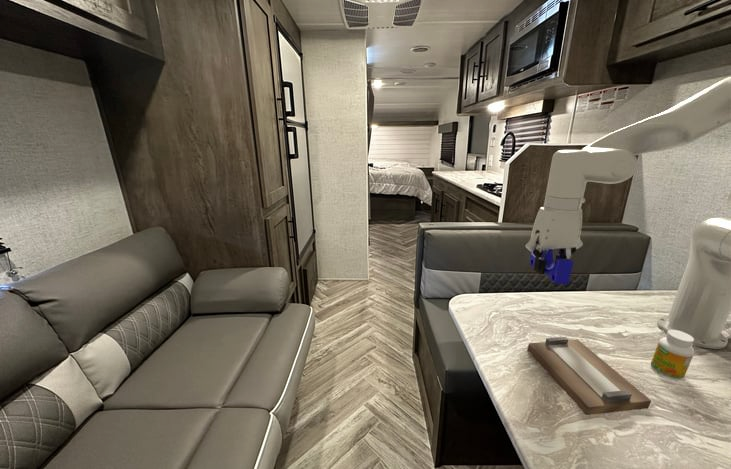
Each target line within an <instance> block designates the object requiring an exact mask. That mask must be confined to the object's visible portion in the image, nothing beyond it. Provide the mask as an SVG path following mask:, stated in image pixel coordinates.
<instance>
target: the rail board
mask: <svg viewBox="0 0 731 469" xmlns="http://www.w3.org/2000/svg"><path fill="white" fill-rule="evenodd" d="M527 351H528V352H529V353H530V355H531V356H532V357H533V358H534V359H535V361H536V362H538V363H539V365H540V366H541V367H542V368H543V369H544V370H545V371H546V372H547V373H548V374H549V375H550V377H551V378H552V379H553V380H554V381H555V382H556V384H557V385H558V386H559V387H560V388H561V389H562V390H563V391H564V392H565V394H567V395H568V397H569V398H570V399H571V400H572V401H573V402H574V403H575V404H576V406H577V407H578V408H579V409H580V410H581V411H582V412H583V413H584V414H585V415H586V416H590V415H591V416H593V415H600V414H609V413H616V412H617V413H619V412H628V411H629V412H630V411H638V410H646V409H649V407H650V405H651V402H652V400H651V399H650V398H649V397H647V396H646V395H645V394H644V393H643V392H642V391H640V390H639V389H638V388H637V387H636V386H634V385H633V384H632V383H631V382H629V381H628V380H627V379H626V378H625V377H624V376H622V375H621V374H620V373H618V372H617V371H616V370H615V369H614V368H613V367H611V365H609V364H608V363H607V362H605V361H604V360H603V359H602V358H601V357H599V355H597V354H596V353H595V352H593V351H592V350H591V349H590V348H588V347H587V346H586V345H585V344H584V343H582V341H581V340H579V339H578V338H577V339H568V338H567V337H566V336H559V337H548V338H546V339H545V341H541V342H529V343H528V346H527Z"/></svg>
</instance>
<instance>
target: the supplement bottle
mask: <svg viewBox="0 0 731 469" xmlns="http://www.w3.org/2000/svg"><path fill="white" fill-rule="evenodd" d="M693 342H694V338H693V337H692V336H690V335H688V334H686V333H684V332H681V331H678V330H668V332H667V333H665V336H664V337H662V338H660V339H659V341H658V343H657V346H656V348H655V351H654V354H653V355H652V358H651V361H650V367H651V368H652V370H653V371H654V372H655V373H657V374H658V375H660V376H663V377H664V378H667V379H670V380H675V381H681V380H684V378H685V377H686V374H687V371H688V369H689V367H690V364H691V362H692V360H693V357H694V355H695V350H694V348H693V346H694V345H693Z"/></svg>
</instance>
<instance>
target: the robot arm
mask: <svg viewBox="0 0 731 469" xmlns="http://www.w3.org/2000/svg"><path fill="white" fill-rule="evenodd" d="M729 124H731V76H728V77H726V78H723V79H722V80H720V81H718V82H716V83H714V84H712V85H710V86H709V87H707V88H705V89H703V90H702V91H700V92H699V91H698V93H696V94H693V96H691V97H689V98H687V99H685V100H683V101H681V102H679V103H678V104H676V105H674V106H673V107H670V108H669V109H667V110H665V111H662V112H661V113H659V114H656V115H653V116H650V117H648V118H645V119H643V120H640V121H638V122H636V123H635V122H634V123H633V124H631V125H628V126H625V127H623V128H620V129H618V130H615V131H614V132H610V133H609V134H607V135H604V136H603V137H601V138H599V139H597V140H595V141H594V142H592V143H590V144H588V145H586V146H585V147H583V148H582V149H560V150H557V151H555V152H554V153H553V154H552V158H551V163H550V168H549V175H548V180H547V185H546V191H545V198H544V202H543V206H541V207H540V208H539V209H538V212H537V214H536V217H535V220H534V222H533V226H532V231H531V235H530V238H529V241H528V242H527V243H526V244H525V248H526V249H527V250H528V251H530V253H533V254H534V256H535V257H536V258H535V264H534V268H533V270H534V271H535V272H536V273H538V274H540V275H545V273H544V272H545V267H546V262H547V261H546V260H545V257H546V255H547V253H548V251H549V249H553V250H558V254H556V255H555V260H554V263H556V260H557V259H571V258H572V255H573V254H574V253H575V252H576V251H577V250H578V249H579V248H580V249H581V247H582V246H583V245H584V243H583V241H582V240H581V234H582V233H581V232H582V228H583V227H582V226H583V209H582V205H583V203H585V202H586V198H585V197H584V195H585V191H586V188H587V186H586V185H587V183H588V182H590V183H591V182H592V183H599V184H600V183H601V184H606V185H607V184H609V185H612V184H613V185H614V184H620V183H623V182H625V181H627V180H628V179H630V178H632V177H633V176H634V175H635V174H636V172H637V171H638V168H639V160H638V158H637V156H638V155H643V154H648V153H653V152H654V153H655V152H661V151H667V150H673V149H677V148H681V147H684V146H687V145H690V144H691V143H693V142H695V141H697V140H699V139H701V138H702V137H704V136H706V135H708V134H711V133H712V132H714V131H716V130H718V129H720V128H722V127H724V126H727V125H729ZM726 204H727V206H728V207H729V208H730V209H731V191H730V192H729V194H728V196H727V197H726ZM691 234H692V235H691V237H690V252H689V256H688V262H687V264H686V267H685V270H684V272H683V276H682V278H681V280H680V284H679V285H678V289H677V291H676V293H675V295H674V296H675V297H674V300H673V302H672V305H671V308H670V310H669V313H668V315H664V316H660V317H658V319H657V326H658V327H659V328H660V330H662V331H663V332H664V333H665V334H667V332H668V330H678V331H681V332H684V333H686V334H688V335H690V336H692V337H693V338H694V342H693V345H692V346H695V347H699V348H700V347H701V348H706V349H713V350H718V349H719V350H720V349H724V348H726V347H727V345H728V343H729V341H728V339H727V338H726V336H725V335H724V334H723V331H724V330H727V329H728V330H729V329H730V330H731V320H728V318H729V316H730V314H731V217H729V216H728V217H727V216H717V217H710V218H708V219H705V220H703V221H701V222H700V223H698V224H697V225H696V227H695V228H694V230H693V231H692V233H691ZM542 249H543V250H542ZM541 250H542V252H541ZM540 252H541V253H540Z"/></svg>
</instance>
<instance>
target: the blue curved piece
mask: <svg viewBox="0 0 731 469" xmlns="http://www.w3.org/2000/svg"><path fill="white" fill-rule="evenodd" d="M542 250H543V249H542ZM542 250H541V252H542ZM541 252H540V253H541ZM553 252H554V249H549V251H548V253H547V255H546V257H545V260H546V261H547V262H546V267H545V272H544V275H546V276H547V277H548V279H550V280H551V282H553V284H555V285H569V282H570V280H571V275H572V271H573V267H574V266H573V265H574V260H572V259H571V258H570V259H557V260H556V263H555V260H554V257H553V256H554V254H553ZM530 253H531V254H530V258H529V264H530V266H531V267H532V268H533V269H534V264H535V258H536V257H535V256H534V254H533V253H532V252H530Z"/></svg>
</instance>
